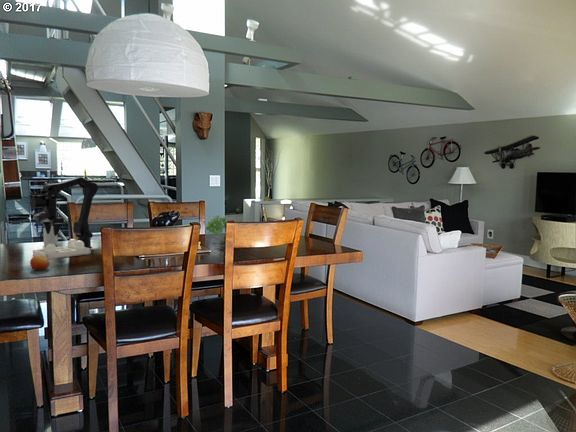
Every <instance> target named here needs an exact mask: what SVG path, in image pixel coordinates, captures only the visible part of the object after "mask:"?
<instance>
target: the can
mask: <svg viewBox="0 0 576 432" xmlns="http://www.w3.org/2000/svg"><path fill="white" fill-rule="evenodd" d="M42 230H43V234H42V235H43V245H44V246H45V247H46V245H47V244H50V243H52V244H54V245H55V246H57V245H58V242H59V241H58V235H57V236H54V231H53V226H51V230H50V233H49V234H47V233H46V230H45V227H43V229H42Z"/></svg>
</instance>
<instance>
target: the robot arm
mask: <svg viewBox="0 0 576 432" xmlns="http://www.w3.org/2000/svg"><path fill="white" fill-rule="evenodd" d="M74 186H79V188H81V189H82V195H83V198H82V199H83V200H82V204H81V208H80V212H79V213H80V214H79V216H78V217H79V218H78V220H77V221H74V223H73V227H72V231H73V233H74V234H75V237H76V238H77V239H76V240H77V241H78V240H80V241H83V243H84V247H87V248H93V246H92V244H91V243H92V241H91V240H92V239H91V238H93V236H94V234H93V232H91V231H90V224H89V217H90V212H91V207H92V203H93V198H94V197H95V196H96V194H97V193H98V189H99V186H98V184H97V183H96V182H92V181H90V180H88V179H86V178H85V177H82V176H76V177H74V178H71V179H68V180H67V179H66V180H63V181H60V182H57V183H56V182H55V183H47V184H44V185H43V187H42V189H41V191H40V193H39V194H38V195H35V194H33V195H31V198H30V199H29V205H30V207H31V209H38V208H39V209H40V208H42V209H43V211H41V212H39V213H36V214H34V215H33V217H34V220H35V221H36V222H40V223H41V224H42V225H43V226H44V227H45V230H46V233H47V234H49V233H50V230H51V226H53V231H54V236H57V237H58V233H59V231H60V230H61V227H62V226H63V225H64V224H65V219H64V218H63V217H61V216H60V217H59V216H58V211H59V208H58V206H57V200H58V199H61V197H60V195H58V194H59V193H61V192H62V191H64V190H65V189H69V188H72V187H74ZM44 227H43V228H44Z"/></svg>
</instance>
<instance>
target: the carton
mask: <svg viewBox="0 0 576 432" xmlns="http://www.w3.org/2000/svg"><path fill="white" fill-rule="evenodd" d="M77 240H78V239H74V238H71V239H69V240H68V241H67V245H66V246H56V252H55V253H46V252H45V248H38V249H32V256H33V257H34V256H35V255H43V256H45V257H47V259H48V260H55V259H62V258H68V257H69V258H71V257H76V256H84V255H85V256H86V255H91V253H92V249H91V248H92V247H91V248H87V247H84V243H83V241H80V240H78V241H77Z"/></svg>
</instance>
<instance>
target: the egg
mask: <svg viewBox="0 0 576 432" xmlns="http://www.w3.org/2000/svg"><path fill="white" fill-rule="evenodd" d="M56 247H57V245H54V244H52V243H50V244H47V245H46V246H45V248H44V249H45V252H46V253H55V252H56Z"/></svg>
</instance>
